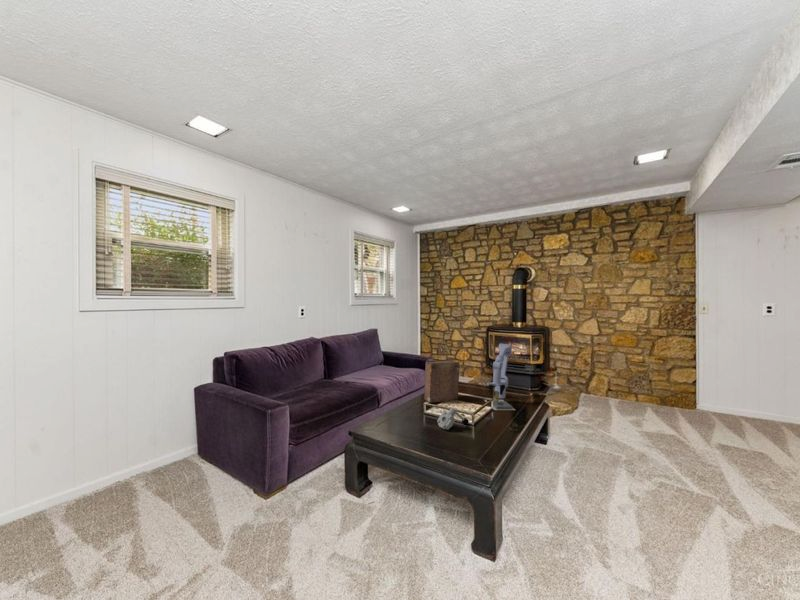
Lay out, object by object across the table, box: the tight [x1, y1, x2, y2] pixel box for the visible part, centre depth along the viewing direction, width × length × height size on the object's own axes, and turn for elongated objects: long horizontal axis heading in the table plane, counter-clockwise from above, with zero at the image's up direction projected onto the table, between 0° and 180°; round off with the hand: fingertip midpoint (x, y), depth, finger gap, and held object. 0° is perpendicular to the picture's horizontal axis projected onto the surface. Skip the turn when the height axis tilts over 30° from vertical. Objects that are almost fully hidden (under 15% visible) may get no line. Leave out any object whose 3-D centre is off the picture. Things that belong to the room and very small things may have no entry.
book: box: [423, 359, 460, 404], centre depth 261 cm, size 25×9×30 cm, turn 115°
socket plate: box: [483, 399, 516, 411], centre depth 253 cm, size 22×16×3 cm
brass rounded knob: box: [492, 390, 500, 401], centre depth 259 cm, size 4×4×8 cm
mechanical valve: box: [436, 406, 469, 431], centre depth 211 cm, size 10×18×15 cm
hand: (496, 394), depth 259 cm, fingers open, 7 cm apart
